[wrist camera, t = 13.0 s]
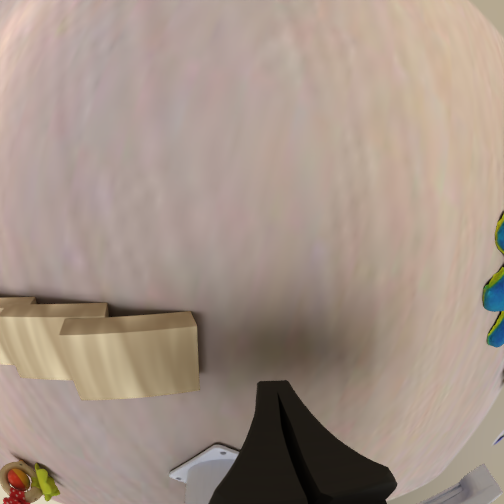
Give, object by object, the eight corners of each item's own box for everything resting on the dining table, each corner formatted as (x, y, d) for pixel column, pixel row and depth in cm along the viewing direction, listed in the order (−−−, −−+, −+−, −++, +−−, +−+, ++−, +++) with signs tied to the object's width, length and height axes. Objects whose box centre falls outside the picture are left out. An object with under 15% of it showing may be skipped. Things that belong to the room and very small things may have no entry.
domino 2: (104, 316, 13) (-3, 316, 10) (118, 379, 14) (20, 377, 12) (107, 302, 14) (7, 304, 12) (118, 363, 16) (26, 362, 13)
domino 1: (27, 307, 12) (-45, 307, 10) (47, 366, 14) (-24, 361, 11) (35, 296, 14) (-35, 298, 12) (52, 353, 15) (-17, 350, 13)
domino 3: (197, 326, 13) (58, 335, 11) (199, 390, 15) (81, 400, 12) (190, 311, 15) (64, 319, 12) (193, 373, 16) (82, 382, 13)
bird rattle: (36, 462, 23) (74, 498, 21) (-4, 493, 13) (32, 535, 10) (21, 440, 22) (58, 480, 19) (-25, 472, 11) (9, 519, 9)
